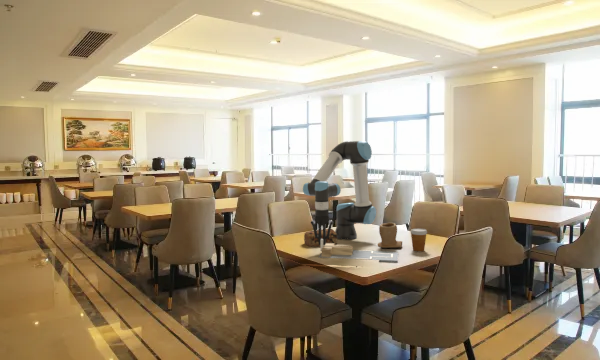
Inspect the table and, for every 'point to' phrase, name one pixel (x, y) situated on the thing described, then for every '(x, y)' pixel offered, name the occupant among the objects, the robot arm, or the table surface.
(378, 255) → the t board
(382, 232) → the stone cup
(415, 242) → the disposable coffee cup
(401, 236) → the table surface
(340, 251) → the t block
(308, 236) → the bread
